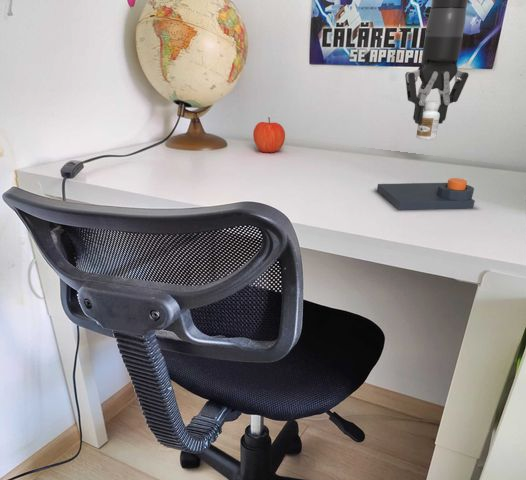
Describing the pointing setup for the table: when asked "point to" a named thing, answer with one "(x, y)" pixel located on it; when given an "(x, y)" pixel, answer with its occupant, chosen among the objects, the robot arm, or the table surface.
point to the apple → (269, 136)
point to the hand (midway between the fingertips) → (428, 122)
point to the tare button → (456, 184)
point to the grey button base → (426, 196)
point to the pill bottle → (429, 121)
